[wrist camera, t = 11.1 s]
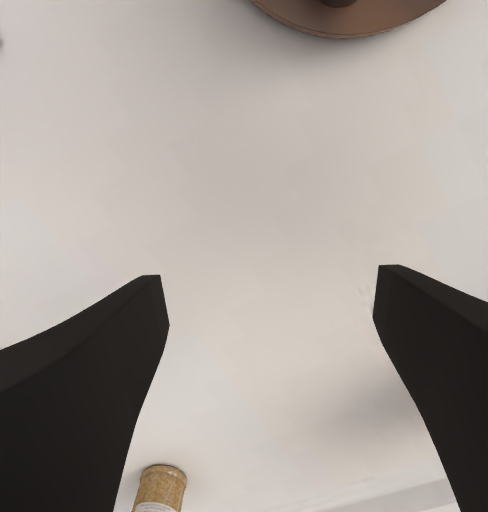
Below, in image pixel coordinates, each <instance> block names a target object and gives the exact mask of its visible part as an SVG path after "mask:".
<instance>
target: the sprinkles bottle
mask: <svg viewBox="0 0 488 512" xmlns="http://www.w3.org/2000/svg"><path fill="white" fill-rule="evenodd" d="M186 484H187V481H186V477H185V476H184V475H183V474H182V473H181V472H180V471H179V470H177V469H176V468H173V467H170V466H162V465H161V466H152V467H150V468H148V469H146V470H145V471H144V472H143V473H142V475H141V477H140V486H139V489H138V492H137V496H136V499H135V502H134V505H133V509H132V511H131V512H180V511H181V505H182V499H183V494H184V490H185V488H186Z"/></svg>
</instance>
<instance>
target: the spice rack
mask: <svg viewBox="0 0 488 512" xmlns="http://www.w3.org/2000/svg"><path fill="white" fill-rule="evenodd" d="M250 1H251V2H252V3H254V4H255V5H256V6H257V7H259V8H260V9H261V10H262V11H264V12H265V13H266V14H267V15H269V16H271V17H272V18H274V19H276V20H278V21H279V22H281V23H283V24H284V25H286V26H289V27H291V28H294V29H296V30H299V31H302V32H304V33H308V34H312V35H317V36H321V37H329V38H356V37H366V36H370V35H374V34H378V33H382V32H387V31H389V30H392V29H394V28H397V27H399V26H402V25H404V24H407V23H409V22H411V21H413V20H415V19H416V18H418V17H420V16H422V15H424V14H425V13H427V12H429V11H431V10H433V9H434V8H436V7H438V6H439V5H441V4H442V3H443V2H445V1H446V0H250Z"/></svg>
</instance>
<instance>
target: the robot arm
mask: <svg viewBox="0 0 488 512" xmlns="http://www.w3.org/2000/svg"><path fill="white" fill-rule="evenodd" d="M373 321H374V324H375V327H376V329H377V332H378V335H379V337H380V340H381V342H382V344H383V346H384V348H385V350H386V352H387V354H388V356H389V357H390V359H391V361H392V363H393V365H394V366H395V368H396V370H397V372H398V374H399V375H400V377H401V379H402V381H403V382H404V384H405V386H406V388H407V390H408V391H409V393H410V395H411V397H412V399H413V400H414V402H415V404H416V406H417V408H418V410H419V412H420V414H421V416H422V418H423V420H424V422H425V424H426V427H427V429H428V431H429V434H430V436H431V438H432V441H433V443H434V445H435V448H436V450H437V452H438V455H439V457H440V460H441V462H442V465H443V467H444V470H445V472H446V475H447V477H448V480H449V482H450V485H451V487H452V490H453V492H454V495H455V497H456V500H457V503H458V506H459V508H460V511H461V512H488V302H486V301H483V300H481V299H478V298H476V297H473V296H471V295H468V294H466V293H464V292H461V291H459V290H457V289H455V288H452V287H450V286H448V285H446V284H443V283H441V282H439V281H437V280H435V279H432V278H430V277H428V276H426V275H424V274H421V273H419V272H417V271H415V270H412V269H410V268H407V267H405V266H402V265H379V268H378V277H377V285H376V293H375V301H374V309H373ZM169 326H170V324H169V319H168V314H167V309H166V303H165V298H164V293H163V288H162V282H161V277H160V275H142V276H140V277H138V278H136V279H134V280H132V281H131V282H129V283H127V284H126V285H124V286H122V287H121V288H119V289H118V290H116V291H115V292H113V293H111V294H110V295H108V296H107V297H105V298H103V299H102V300H100V301H99V302H97V303H95V304H94V305H92V306H90V307H88V308H87V309H85V310H83V311H81V312H80V313H78V314H76V315H75V316H73V317H71V318H69V319H67V320H66V321H64V322H62V323H60V324H58V325H56V326H54V327H52V328H50V329H48V330H46V331H44V332H41V333H39V334H37V335H35V336H33V337H31V338H28V339H26V340H24V341H21V342H19V343H16V344H14V345H11V346H9V347H6V348H4V349H1V350H0V512H113V510H114V505H115V501H116V497H117V493H118V489H119V485H120V481H121V477H122V473H123V469H124V465H125V461H126V457H127V453H128V450H129V446H130V443H131V439H132V435H133V432H134V428H135V425H136V422H137V419H138V416H139V413H140V410H141V408H142V405H143V403H144V400H145V398H146V395H147V392H148V390H149V387H150V385H151V382H152V380H153V377H154V375H155V372H156V370H157V367H158V365H159V362H160V359H161V357H162V354H163V351H164V348H165V344H166V340H167V335H168V330H169Z"/></svg>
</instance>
